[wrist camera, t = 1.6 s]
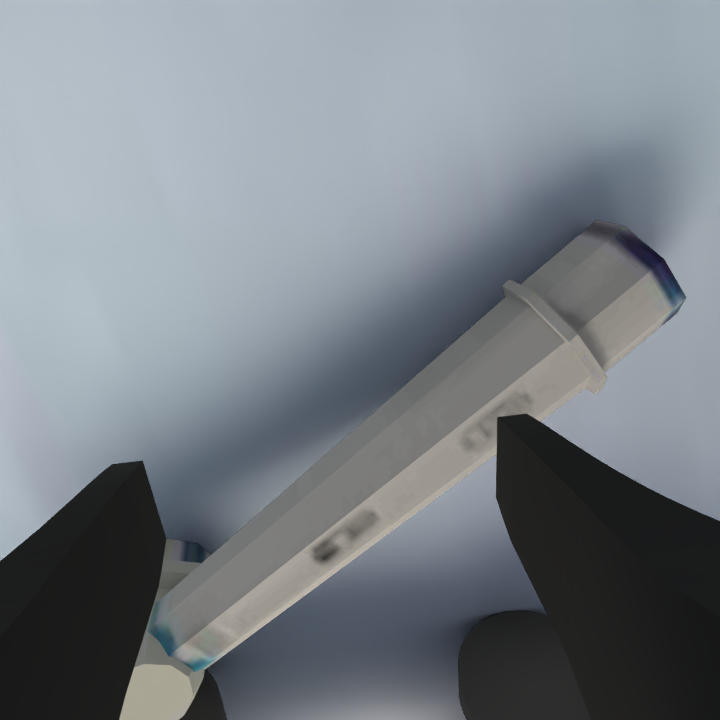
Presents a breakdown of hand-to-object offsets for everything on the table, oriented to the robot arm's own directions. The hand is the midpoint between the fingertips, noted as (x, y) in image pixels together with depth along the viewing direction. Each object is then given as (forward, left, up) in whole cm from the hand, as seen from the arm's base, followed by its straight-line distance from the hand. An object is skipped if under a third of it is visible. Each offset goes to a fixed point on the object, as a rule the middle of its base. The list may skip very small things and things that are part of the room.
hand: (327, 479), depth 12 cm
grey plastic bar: (0, +6, -10) cm, 12 cm away
